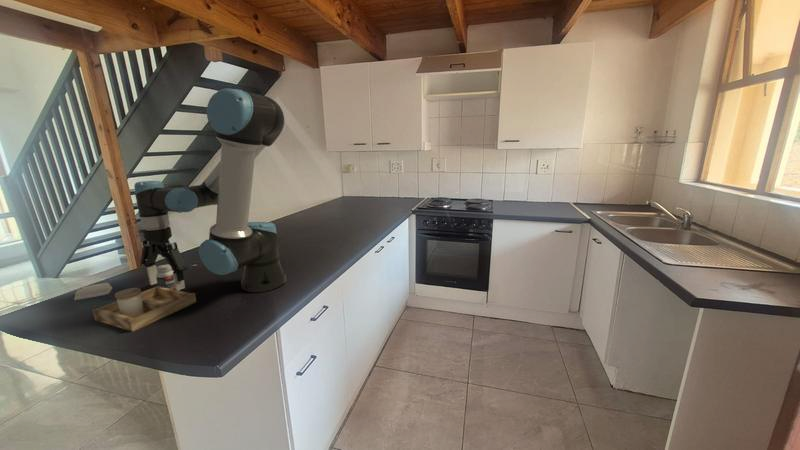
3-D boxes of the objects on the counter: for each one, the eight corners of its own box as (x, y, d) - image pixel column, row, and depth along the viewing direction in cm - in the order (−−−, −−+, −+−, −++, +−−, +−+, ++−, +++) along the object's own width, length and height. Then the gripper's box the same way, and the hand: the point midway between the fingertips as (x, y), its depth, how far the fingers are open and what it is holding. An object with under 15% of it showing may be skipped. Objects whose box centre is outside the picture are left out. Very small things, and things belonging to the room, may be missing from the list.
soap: (72, 301, 103) (70, 293, 103) (79, 293, 109) (77, 286, 108) (109, 295, 108) (107, 287, 107) (113, 288, 114) (112, 280, 113)
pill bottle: (167, 294, 108) (163, 269, 106) (155, 292, 109) (150, 268, 107) (181, 287, 113) (176, 264, 111) (168, 286, 114) (164, 263, 112)
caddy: (196, 304, 100) (195, 293, 99) (133, 334, 84) (130, 321, 83) (161, 295, 106) (159, 285, 105) (95, 322, 90) (92, 310, 89)
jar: (150, 313, 93) (145, 289, 91) (128, 323, 88) (122, 297, 86) (137, 310, 95) (132, 286, 93) (116, 319, 90) (110, 294, 88)
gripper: (193, 228, 105) (202, 287, 109) (144, 222, 113) (155, 277, 118) (170, 233, 98) (181, 296, 103) (120, 226, 106) (132, 285, 111)
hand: (167, 286), depth 110 cm, fingers open, 13 cm apart
